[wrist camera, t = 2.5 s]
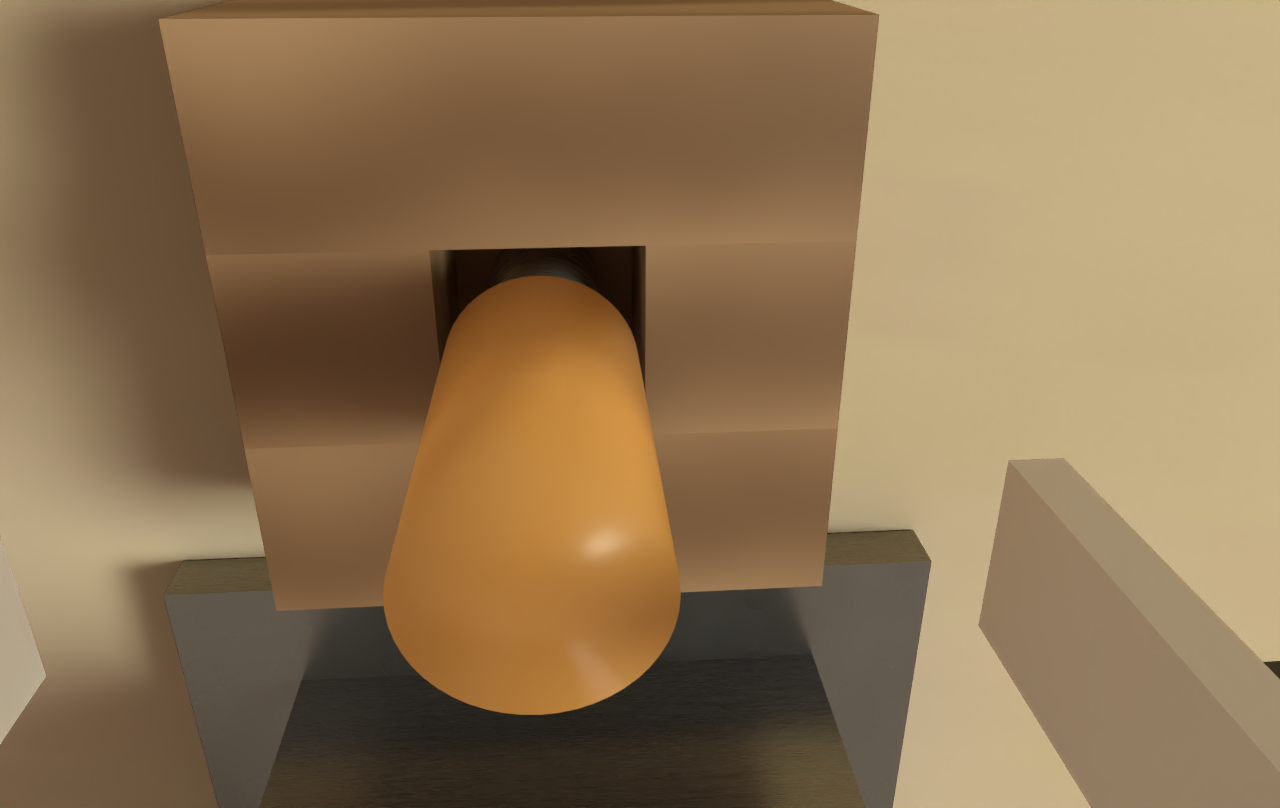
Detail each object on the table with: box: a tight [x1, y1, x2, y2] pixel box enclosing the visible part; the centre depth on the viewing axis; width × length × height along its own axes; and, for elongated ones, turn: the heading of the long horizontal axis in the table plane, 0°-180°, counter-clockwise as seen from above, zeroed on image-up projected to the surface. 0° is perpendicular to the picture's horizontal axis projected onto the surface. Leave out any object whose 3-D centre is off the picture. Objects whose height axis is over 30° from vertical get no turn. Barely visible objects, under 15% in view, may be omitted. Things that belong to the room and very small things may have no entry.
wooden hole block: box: [158, 0, 879, 611], centre depth 21 cm, size 12×12×5 cm
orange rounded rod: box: [383, 247, 681, 715], centre depth 17 cm, size 4×4×12 cm
